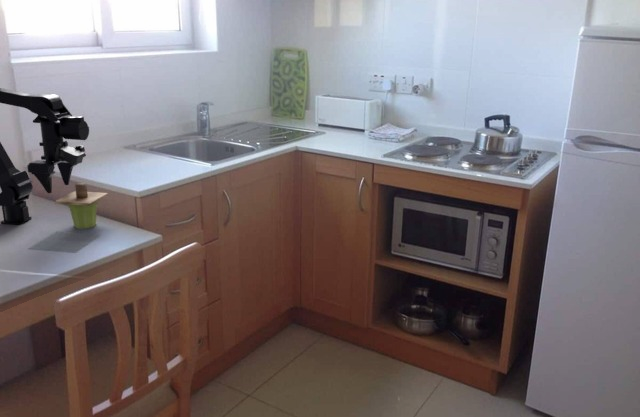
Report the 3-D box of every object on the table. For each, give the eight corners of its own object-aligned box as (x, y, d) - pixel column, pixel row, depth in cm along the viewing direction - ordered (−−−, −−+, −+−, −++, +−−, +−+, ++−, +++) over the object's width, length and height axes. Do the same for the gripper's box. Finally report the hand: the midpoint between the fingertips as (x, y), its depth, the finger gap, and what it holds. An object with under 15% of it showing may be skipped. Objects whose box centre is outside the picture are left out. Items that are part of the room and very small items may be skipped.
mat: (28, 250, 158) (27, 248, 158) (57, 232, 171) (57, 231, 171) (75, 254, 157) (75, 252, 156) (101, 236, 170) (101, 234, 170)
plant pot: (107, 222, 182) (104, 195, 179) (92, 232, 173) (90, 204, 170) (78, 220, 182) (75, 194, 180) (63, 230, 173) (59, 203, 171)
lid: (55, 203, 170) (53, 187, 169) (75, 193, 181) (73, 178, 179) (90, 206, 169) (88, 190, 167) (108, 195, 179) (106, 180, 178)
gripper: (60, 146, 160) (66, 199, 165) (94, 134, 178) (98, 182, 183) (23, 143, 162) (30, 196, 166) (60, 132, 179) (65, 180, 184)
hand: (58, 189), depth 175 cm, fingers open, 9 cm apart
